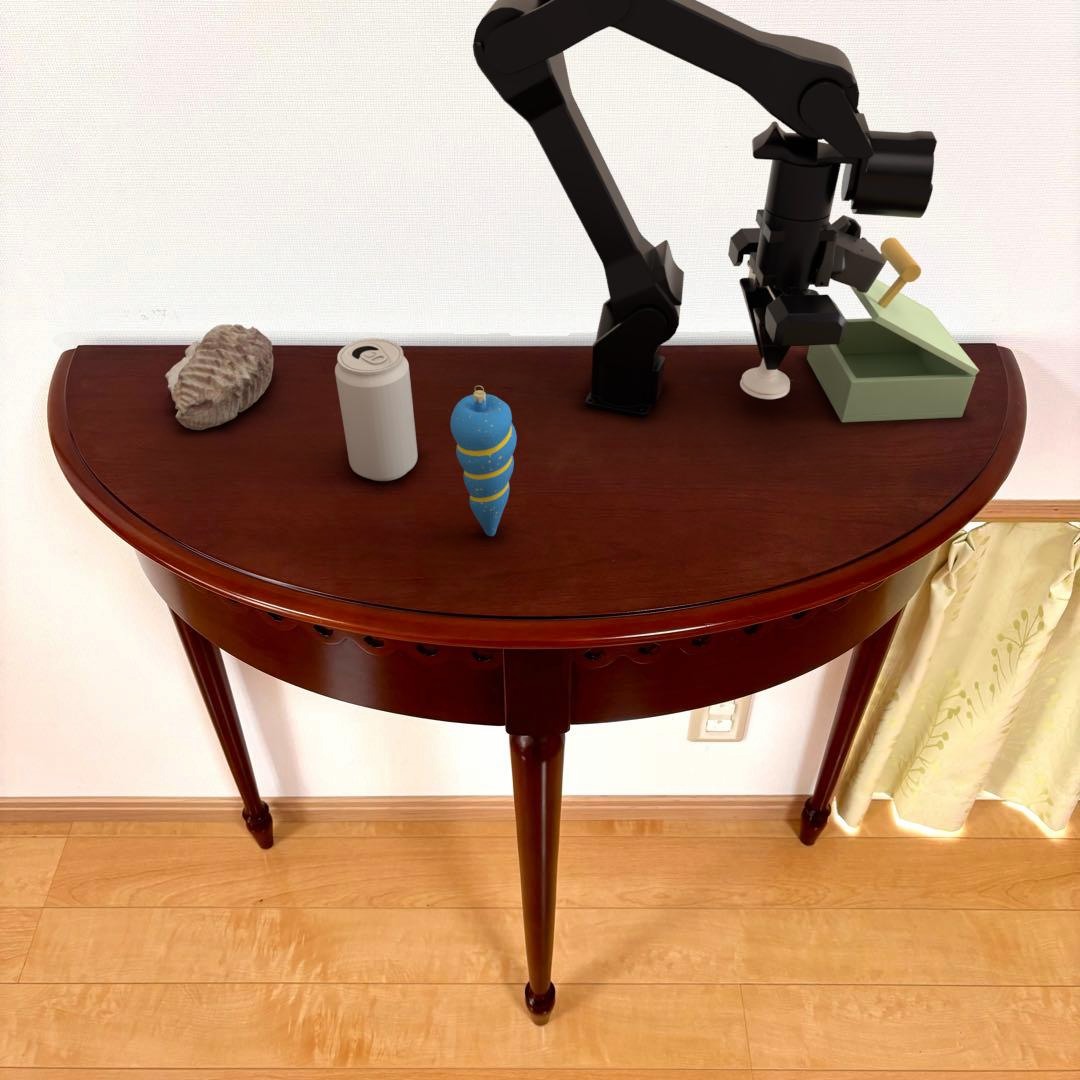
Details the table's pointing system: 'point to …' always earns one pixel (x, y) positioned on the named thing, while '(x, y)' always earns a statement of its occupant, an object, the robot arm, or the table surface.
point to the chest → (887, 377)
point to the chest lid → (910, 310)
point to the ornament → (485, 454)
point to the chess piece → (765, 382)
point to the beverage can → (377, 408)
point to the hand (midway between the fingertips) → (768, 363)
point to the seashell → (220, 376)
